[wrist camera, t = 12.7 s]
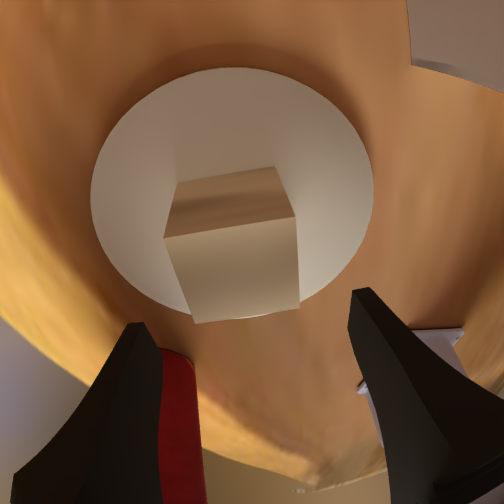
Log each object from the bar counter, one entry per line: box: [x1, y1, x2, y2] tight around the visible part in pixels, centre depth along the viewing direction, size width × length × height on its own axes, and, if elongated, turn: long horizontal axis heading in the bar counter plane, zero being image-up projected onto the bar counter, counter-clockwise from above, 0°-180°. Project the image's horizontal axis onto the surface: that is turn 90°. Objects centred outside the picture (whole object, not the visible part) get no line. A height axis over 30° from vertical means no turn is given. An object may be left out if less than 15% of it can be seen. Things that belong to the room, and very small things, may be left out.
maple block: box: [163, 166, 300, 324], centre depth 12 cm, size 4×4×4 cm
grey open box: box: [406, 0, 504, 93], centre depth 6 cm, size 6×6×6 cm
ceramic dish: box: [90, 67, 374, 319], centre depth 14 cm, size 13×13×1 cm
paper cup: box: [158, 348, 208, 504], centre depth 17 cm, size 8×8×14 cm
